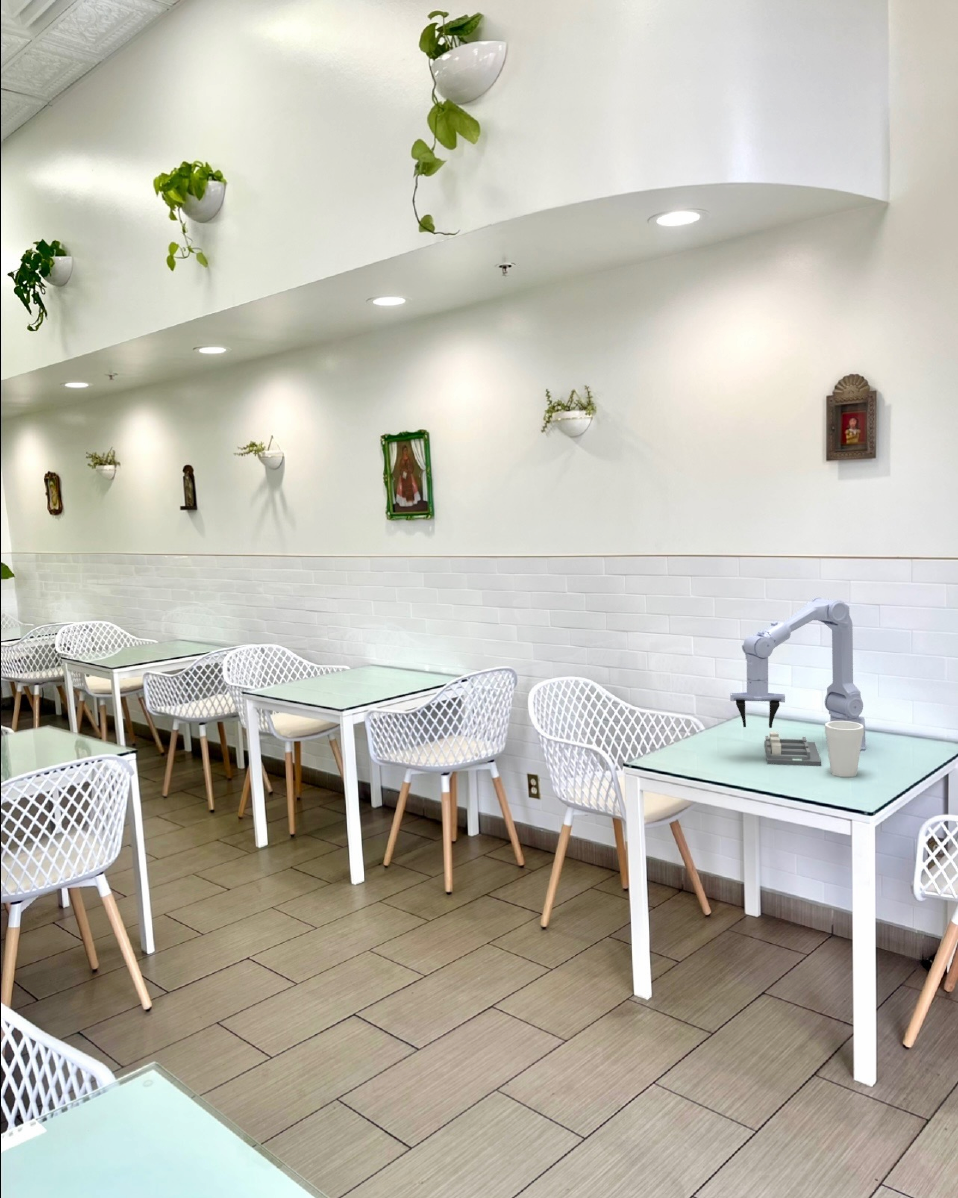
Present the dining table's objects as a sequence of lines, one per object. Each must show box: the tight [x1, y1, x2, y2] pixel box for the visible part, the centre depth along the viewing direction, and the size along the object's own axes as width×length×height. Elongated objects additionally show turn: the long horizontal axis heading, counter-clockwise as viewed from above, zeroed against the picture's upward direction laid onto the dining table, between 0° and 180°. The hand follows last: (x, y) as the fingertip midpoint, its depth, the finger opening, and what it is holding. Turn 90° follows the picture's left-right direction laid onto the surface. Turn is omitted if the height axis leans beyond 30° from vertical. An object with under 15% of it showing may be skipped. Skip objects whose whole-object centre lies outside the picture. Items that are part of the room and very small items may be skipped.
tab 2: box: [770, 737, 781, 748], centre depth 268 cm, size 2×3×3 cm
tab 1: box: [768, 731, 780, 743], centre depth 274 cm, size 2×3×3 cm
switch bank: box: [764, 735, 822, 767], centre depth 267 cm, size 14×20×3 cm
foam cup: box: [824, 721, 864, 778], centre depth 248 cm, size 10×9×13 cm
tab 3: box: [771, 743, 781, 755], centre depth 262 cm, size 2×3×3 cm
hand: (757, 726), depth 263 cm, fingers open, 6 cm apart
